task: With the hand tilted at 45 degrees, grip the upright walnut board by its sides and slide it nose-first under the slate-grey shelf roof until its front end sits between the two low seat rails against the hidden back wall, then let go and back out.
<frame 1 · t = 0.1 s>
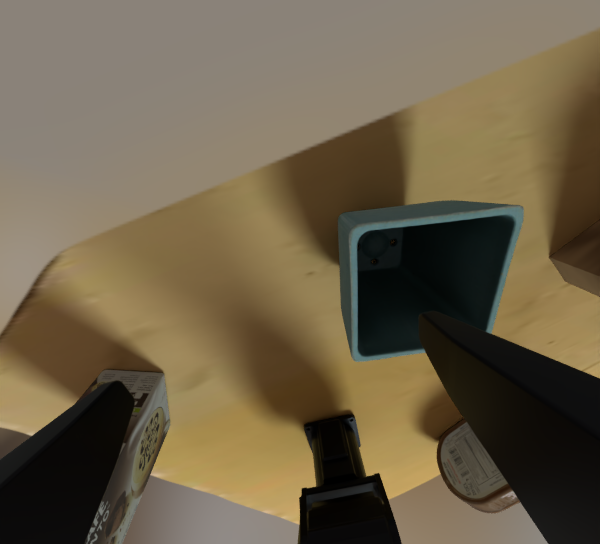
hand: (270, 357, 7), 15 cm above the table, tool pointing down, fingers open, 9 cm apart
walnut board: (598, 240, 23), on the table
flower pot: (373, 242, 22), on the table
tin: (470, 416, 34), on the table
coffee box: (140, 398, 28), on the table
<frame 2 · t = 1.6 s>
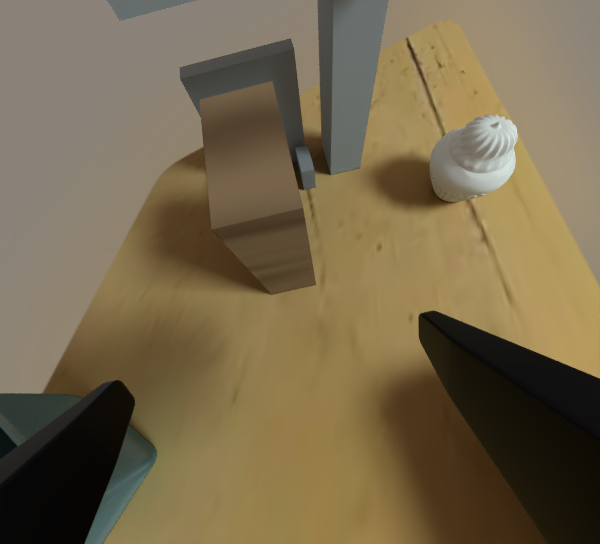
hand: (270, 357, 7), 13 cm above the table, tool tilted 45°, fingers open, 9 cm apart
shelf: (271, 178, 26), on the table
walnut board: (285, 249, 23), on the table
flower pot: (118, 460, 19), on the table
muffin: (449, 189, 24), on the table
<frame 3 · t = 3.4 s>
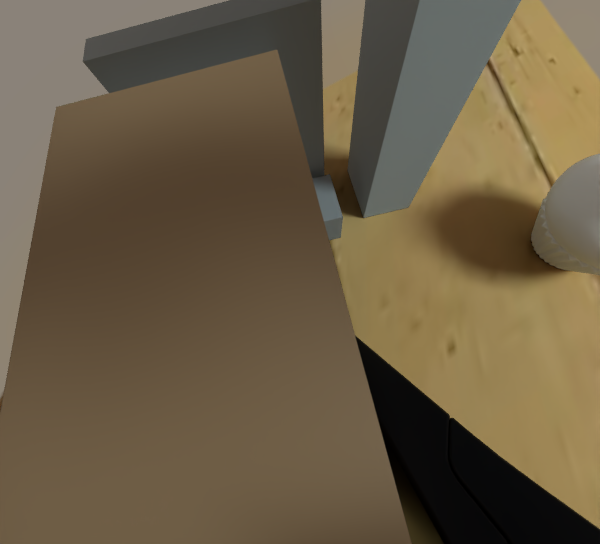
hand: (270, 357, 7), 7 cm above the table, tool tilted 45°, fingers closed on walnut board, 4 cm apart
shelf: (272, 222, 17), on the table
walnut board: (295, 344, 14), on the table, touching gripper
muffin: (558, 245, 15), on the table
when the fingers open (7 cm above the table, at t = 6.5 s): walnut board stays where it is, on the table.
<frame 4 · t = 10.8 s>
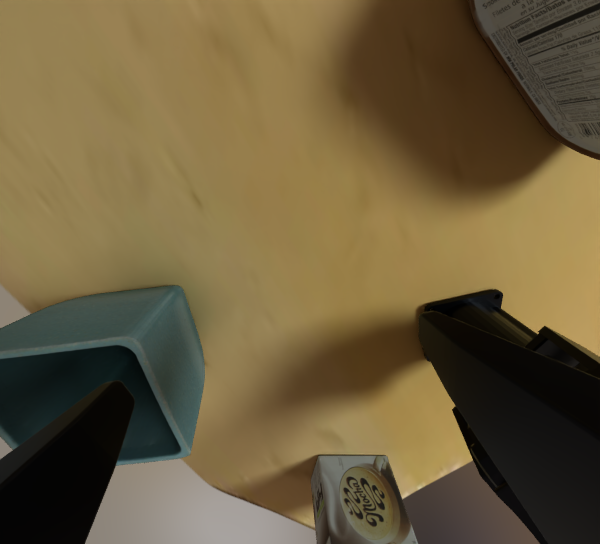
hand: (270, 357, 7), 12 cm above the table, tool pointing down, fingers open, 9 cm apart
flower pot: (160, 311, 21), on the table
tin: (522, 69, 15), on the table
coffee box: (347, 466, 32), on the table
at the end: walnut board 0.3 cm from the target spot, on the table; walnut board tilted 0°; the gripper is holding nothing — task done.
